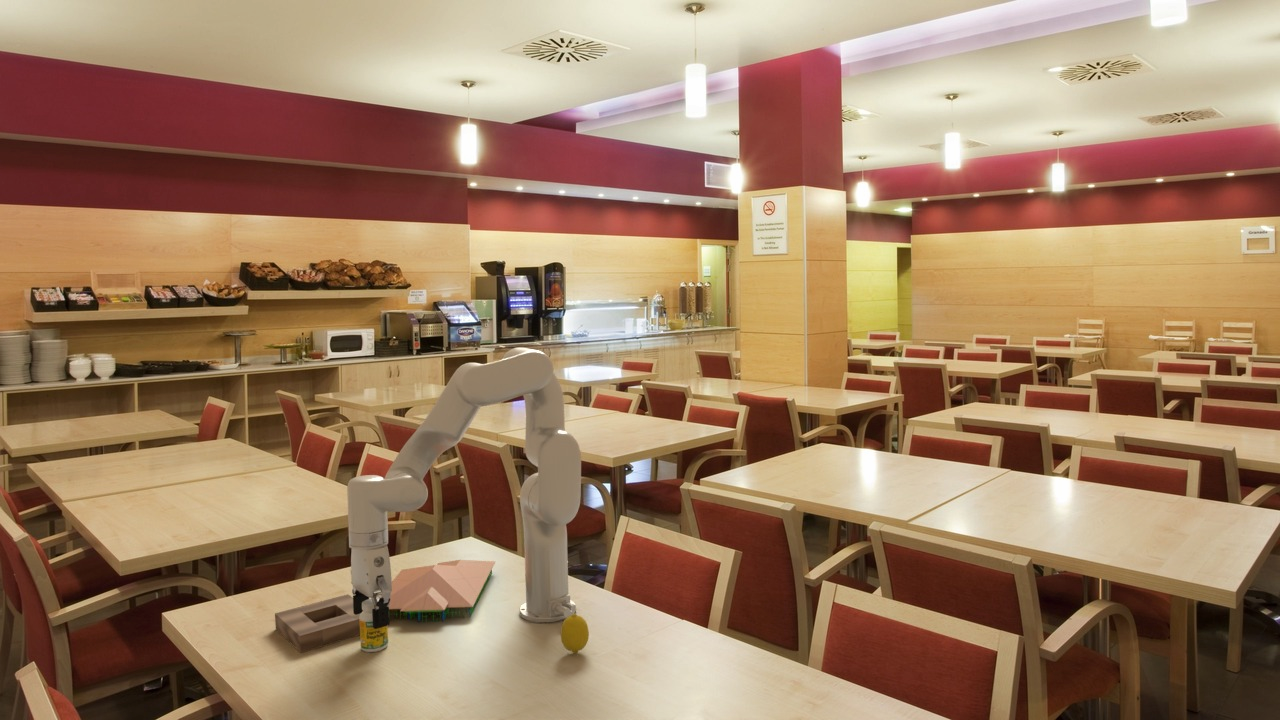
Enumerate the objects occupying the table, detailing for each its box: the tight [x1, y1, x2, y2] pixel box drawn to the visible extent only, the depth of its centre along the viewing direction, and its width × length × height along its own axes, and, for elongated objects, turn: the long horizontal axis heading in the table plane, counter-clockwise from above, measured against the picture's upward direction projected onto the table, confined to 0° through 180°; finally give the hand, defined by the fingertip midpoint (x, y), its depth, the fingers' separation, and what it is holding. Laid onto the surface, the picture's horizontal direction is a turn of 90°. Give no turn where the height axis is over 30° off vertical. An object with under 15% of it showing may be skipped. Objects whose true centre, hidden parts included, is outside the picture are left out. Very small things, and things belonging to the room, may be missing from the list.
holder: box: [274, 593, 360, 653], centre depth 172 cm, size 16×16×4 cm
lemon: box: [560, 613, 590, 654], centre depth 158 cm, size 6×6×8 cm
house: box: [378, 559, 496, 623], centre depth 189 cm, size 23×33×8 cm
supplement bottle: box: [359, 597, 389, 653], centre depth 162 cm, size 5×5×10 cm
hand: (371, 619), depth 162 cm, fingers open, 9 cm apart
